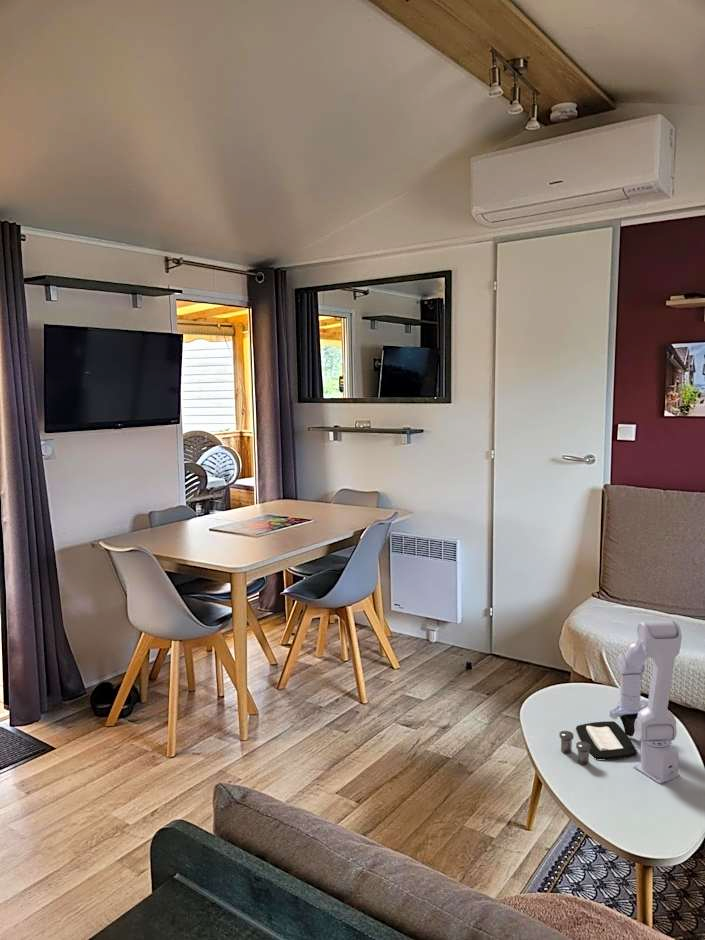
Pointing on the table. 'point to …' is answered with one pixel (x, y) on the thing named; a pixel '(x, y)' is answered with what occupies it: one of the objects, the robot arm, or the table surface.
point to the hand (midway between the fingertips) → (629, 734)
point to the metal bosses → (581, 746)
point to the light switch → (606, 740)
